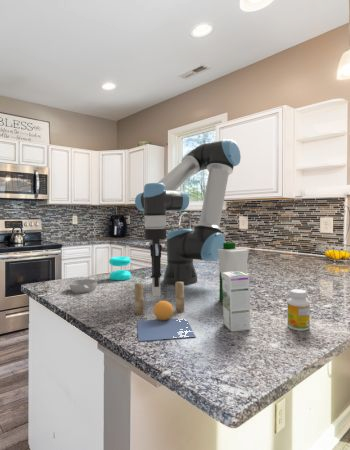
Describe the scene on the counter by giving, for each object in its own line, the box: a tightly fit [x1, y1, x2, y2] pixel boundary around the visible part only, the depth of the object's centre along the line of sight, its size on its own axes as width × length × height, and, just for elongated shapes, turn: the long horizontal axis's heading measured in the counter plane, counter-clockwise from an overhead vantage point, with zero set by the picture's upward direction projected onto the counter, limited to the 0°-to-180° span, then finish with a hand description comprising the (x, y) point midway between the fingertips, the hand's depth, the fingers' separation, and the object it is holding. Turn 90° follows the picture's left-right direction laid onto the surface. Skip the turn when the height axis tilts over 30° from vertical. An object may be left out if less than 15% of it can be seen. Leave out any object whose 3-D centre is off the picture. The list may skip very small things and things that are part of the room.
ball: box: [153, 300, 174, 321], centre depth 89 cm, size 6×6×6 cm
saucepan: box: [68, 278, 98, 294], centre depth 122 cm, size 11×18×4 cm, turn 23°
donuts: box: [108, 256, 132, 281], centre depth 146 cm, size 10×10×10 cm
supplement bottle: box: [287, 288, 311, 332], centre depth 82 cm, size 5×5×10 cm
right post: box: [174, 282, 185, 313], centre depth 97 cm, size 3×3×9 cm
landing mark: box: [137, 318, 197, 343], centre depth 82 cm, size 14×14×1 cm
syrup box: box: [222, 271, 251, 332], centre depth 82 cm, size 6×6×14 cm
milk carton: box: [218, 241, 250, 303], centre depth 106 cm, size 9×9×20 cm
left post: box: [134, 282, 145, 316], centre depth 95 cm, size 3×3×9 cm
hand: (156, 295), depth 109 cm, fingers closed
